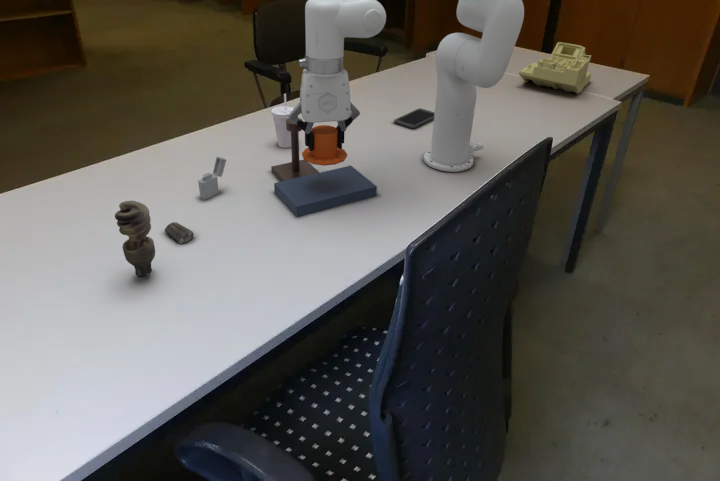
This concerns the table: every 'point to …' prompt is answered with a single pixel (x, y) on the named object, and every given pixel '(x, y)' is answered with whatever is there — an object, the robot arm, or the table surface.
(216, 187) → the lighter
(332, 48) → the robot arm
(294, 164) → the hat stand
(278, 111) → the smoothie
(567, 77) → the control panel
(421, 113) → the cell phone
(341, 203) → the low stand
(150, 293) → the table surface
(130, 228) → the light bulb
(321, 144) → the hat
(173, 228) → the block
